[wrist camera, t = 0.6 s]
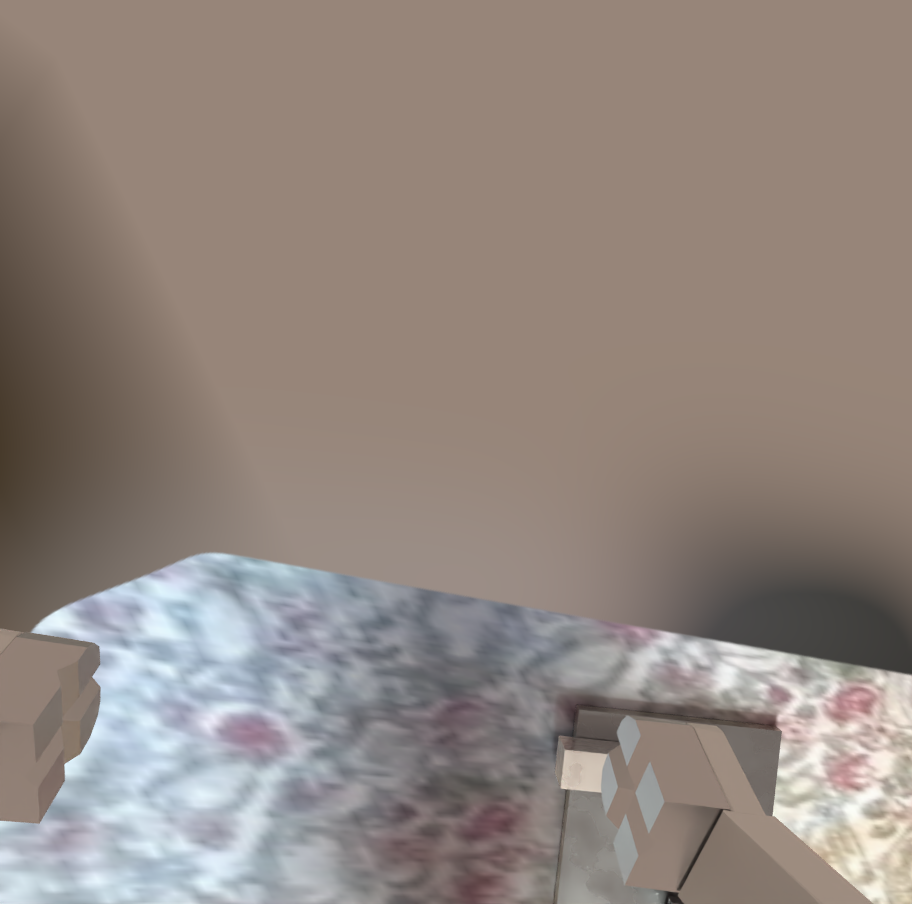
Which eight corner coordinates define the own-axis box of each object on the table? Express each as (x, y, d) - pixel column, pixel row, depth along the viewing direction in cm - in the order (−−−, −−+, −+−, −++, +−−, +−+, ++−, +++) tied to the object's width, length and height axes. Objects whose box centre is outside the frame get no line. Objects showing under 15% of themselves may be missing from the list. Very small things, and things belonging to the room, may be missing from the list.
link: (720, 745, 58) (734, 760, 56) (714, 795, 58) (728, 813, 55) (559, 728, 58) (565, 742, 55) (553, 779, 58) (559, 795, 55)
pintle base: (774, 725, 60) (813, 756, 54) (751, 937, 60) (787, 992, 54) (576, 704, 59) (592, 732, 53) (551, 918, 59) (565, 971, 53)
